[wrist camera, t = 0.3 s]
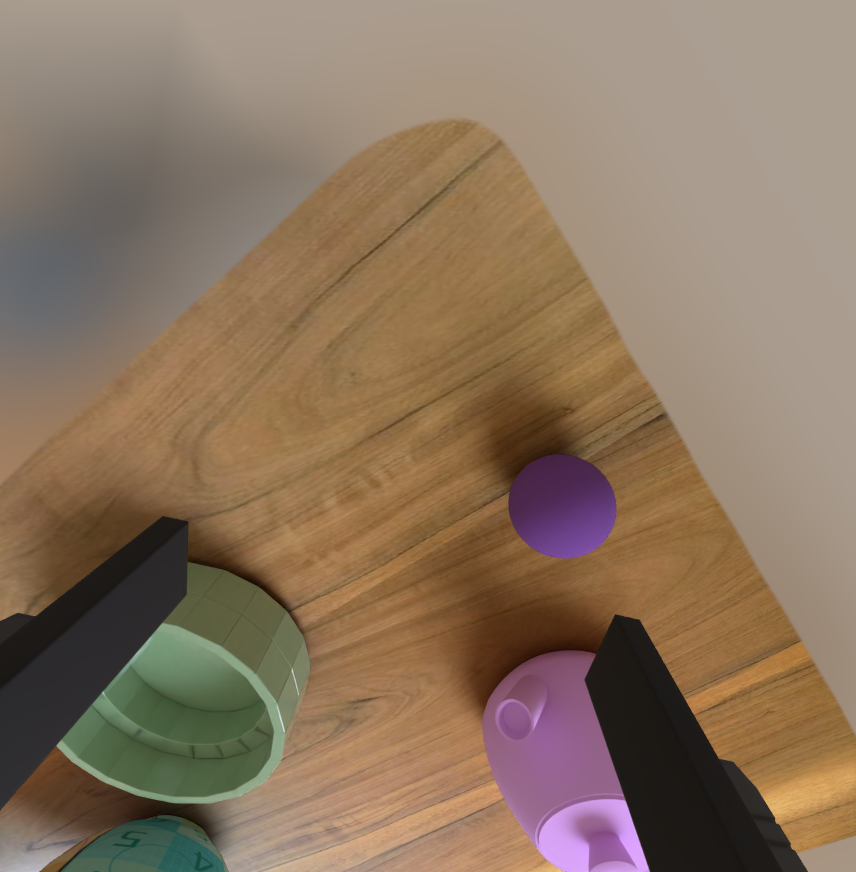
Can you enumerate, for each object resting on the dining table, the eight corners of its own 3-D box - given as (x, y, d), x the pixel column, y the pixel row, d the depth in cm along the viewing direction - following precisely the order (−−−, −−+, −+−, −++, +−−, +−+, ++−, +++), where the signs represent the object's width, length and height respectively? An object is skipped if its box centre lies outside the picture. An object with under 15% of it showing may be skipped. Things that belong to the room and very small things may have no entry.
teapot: (571, 572, 29) (634, 719, 19) (697, 737, 34) (800, 925, 24) (418, 655, 33) (403, 816, 23) (552, 795, 37) (589, 980, 27)
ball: (518, 430, 26) (536, 469, 20) (609, 451, 26) (653, 496, 21) (492, 511, 28) (502, 567, 22) (577, 530, 28) (608, 591, 23)
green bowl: (92, 533, 30) (10, 589, 25) (326, 586, 31) (298, 652, 25) (102, 700, 36) (38, 775, 31) (298, 741, 37) (271, 823, 31)
